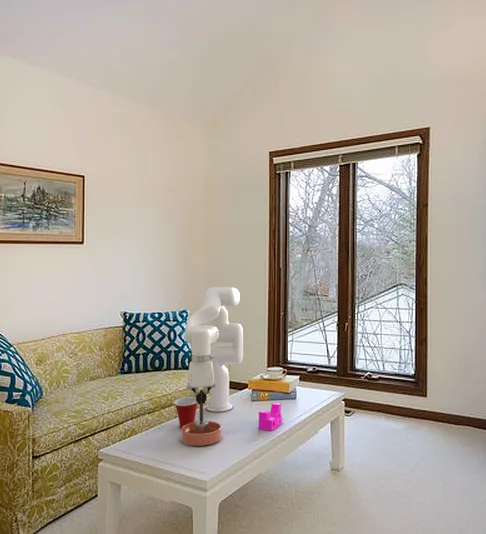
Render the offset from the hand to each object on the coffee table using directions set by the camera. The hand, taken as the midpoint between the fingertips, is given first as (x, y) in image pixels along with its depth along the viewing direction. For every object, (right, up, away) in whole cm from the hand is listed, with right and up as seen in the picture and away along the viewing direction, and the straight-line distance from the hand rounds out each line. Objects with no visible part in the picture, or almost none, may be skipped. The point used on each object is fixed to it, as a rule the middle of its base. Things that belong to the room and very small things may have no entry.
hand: (201, 403), depth 201 cm
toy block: (+29, -15, +18) cm, 37 cm away
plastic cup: (-9, -15, +16) cm, 24 cm away
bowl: (0, -15, 0) cm, 15 cm away
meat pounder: (0, -11, 0) cm, 11 cm away
